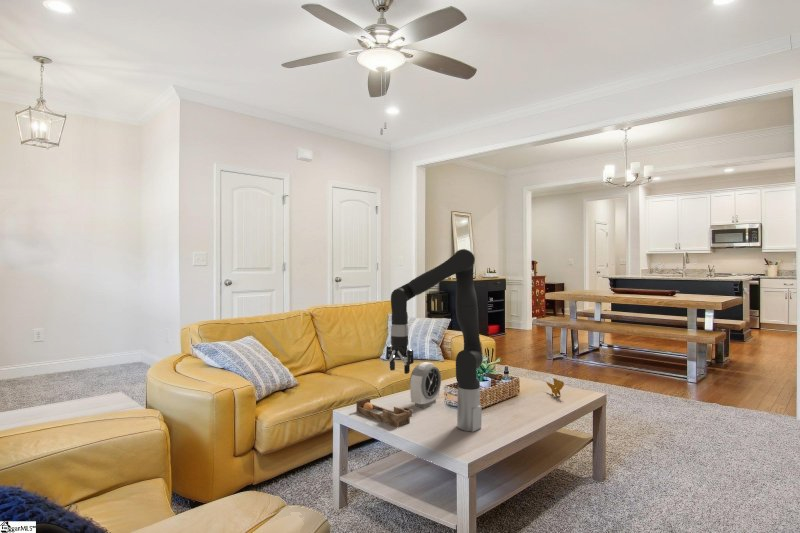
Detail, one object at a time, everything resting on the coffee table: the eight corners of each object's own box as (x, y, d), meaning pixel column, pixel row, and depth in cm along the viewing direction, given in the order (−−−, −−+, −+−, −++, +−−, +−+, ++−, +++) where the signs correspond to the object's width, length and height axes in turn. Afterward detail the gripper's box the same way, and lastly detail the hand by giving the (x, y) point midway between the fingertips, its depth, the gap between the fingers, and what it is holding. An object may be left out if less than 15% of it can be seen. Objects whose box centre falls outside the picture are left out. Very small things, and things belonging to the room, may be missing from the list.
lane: (409, 423, 193) (409, 411, 192) (397, 427, 187) (397, 415, 187) (368, 408, 212) (368, 397, 212) (356, 411, 206) (356, 401, 206)
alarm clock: (422, 410, 209) (422, 367, 209) (407, 406, 214) (407, 364, 214) (442, 401, 223) (442, 360, 223) (428, 397, 228) (428, 358, 228)
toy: (563, 394, 225) (559, 374, 230) (547, 399, 239) (543, 380, 243) (568, 394, 226) (563, 374, 230) (552, 399, 240) (547, 380, 244)
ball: (367, 401, 209) (368, 410, 209) (360, 403, 206) (361, 413, 205) (374, 402, 206) (375, 411, 206) (367, 404, 203) (368, 413, 203)
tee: (412, 415, 202) (412, 409, 202) (405, 418, 199) (405, 411, 199) (405, 413, 204) (405, 407, 204) (399, 415, 202) (399, 409, 202)
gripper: (417, 335, 190) (417, 373, 190) (394, 331, 200) (394, 367, 200) (405, 337, 185) (405, 376, 185) (381, 333, 195) (381, 370, 195)
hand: (399, 371), depth 192 cm, fingers open, 8 cm apart
